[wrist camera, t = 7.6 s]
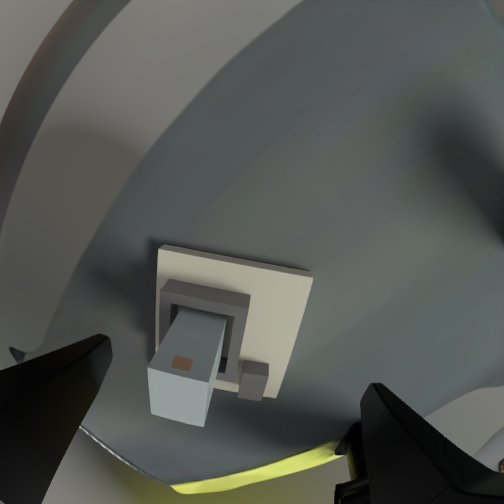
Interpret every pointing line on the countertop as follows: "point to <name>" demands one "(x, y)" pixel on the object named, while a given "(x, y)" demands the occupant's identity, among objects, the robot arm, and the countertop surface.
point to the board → (237, 312)
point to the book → (502, 466)
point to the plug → (187, 366)
